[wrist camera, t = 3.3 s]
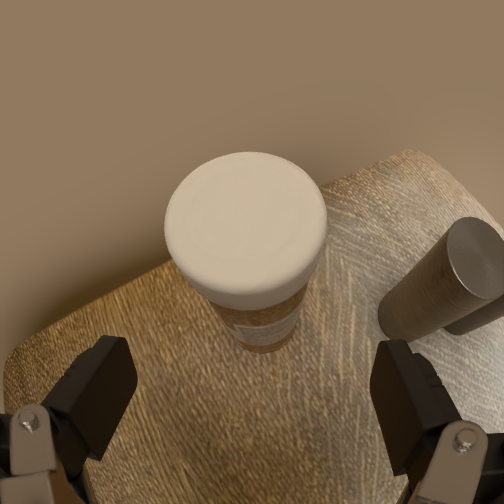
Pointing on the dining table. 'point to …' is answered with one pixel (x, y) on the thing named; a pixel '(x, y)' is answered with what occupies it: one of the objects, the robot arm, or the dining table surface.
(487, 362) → the dining table surface
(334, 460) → the dining table surface
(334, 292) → the dining table surface
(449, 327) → the grey tin
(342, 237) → the dining table surface
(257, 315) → the sprinkles bottle
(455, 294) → the grey tin
